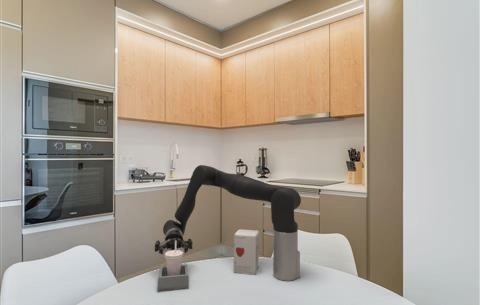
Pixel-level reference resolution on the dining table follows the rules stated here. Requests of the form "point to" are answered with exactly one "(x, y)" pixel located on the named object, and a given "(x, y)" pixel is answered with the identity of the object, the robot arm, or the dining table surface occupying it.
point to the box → (173, 279)
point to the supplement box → (246, 251)
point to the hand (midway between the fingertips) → (173, 251)
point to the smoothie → (173, 261)
